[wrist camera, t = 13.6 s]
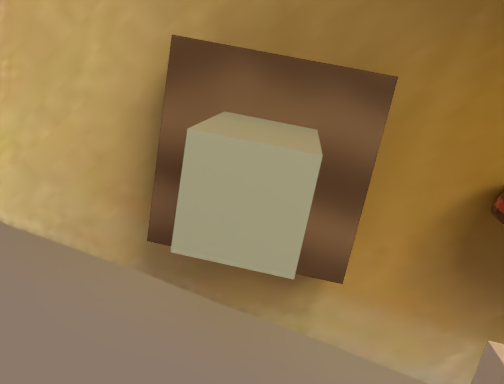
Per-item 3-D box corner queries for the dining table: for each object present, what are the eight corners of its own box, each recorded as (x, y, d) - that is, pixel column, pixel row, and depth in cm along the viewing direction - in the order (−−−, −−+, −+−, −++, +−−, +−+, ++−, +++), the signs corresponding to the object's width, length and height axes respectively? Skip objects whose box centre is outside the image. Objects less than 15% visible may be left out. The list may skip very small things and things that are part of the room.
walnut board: (192, 40, 31) (171, 34, 27) (383, 76, 30) (398, 76, 26) (168, 218, 35) (147, 241, 31) (337, 254, 34) (342, 283, 30)
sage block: (224, 111, 27) (187, 128, 19) (317, 129, 27) (322, 155, 18) (210, 199, 29) (170, 252, 21) (297, 218, 29) (294, 279, 20)
